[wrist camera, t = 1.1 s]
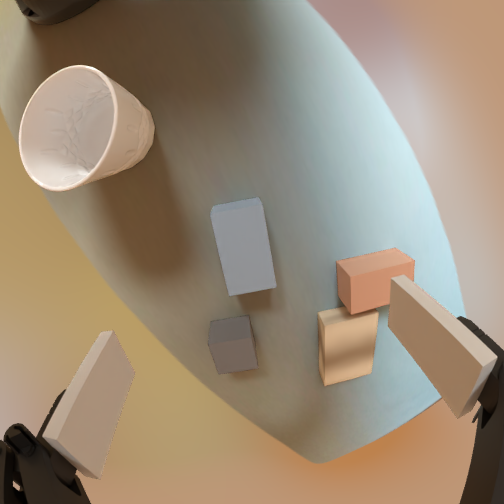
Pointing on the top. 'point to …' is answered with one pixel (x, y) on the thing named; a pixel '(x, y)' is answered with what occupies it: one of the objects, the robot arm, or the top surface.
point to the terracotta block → (371, 278)
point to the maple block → (346, 343)
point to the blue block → (243, 246)
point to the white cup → (82, 129)
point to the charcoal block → (232, 345)
